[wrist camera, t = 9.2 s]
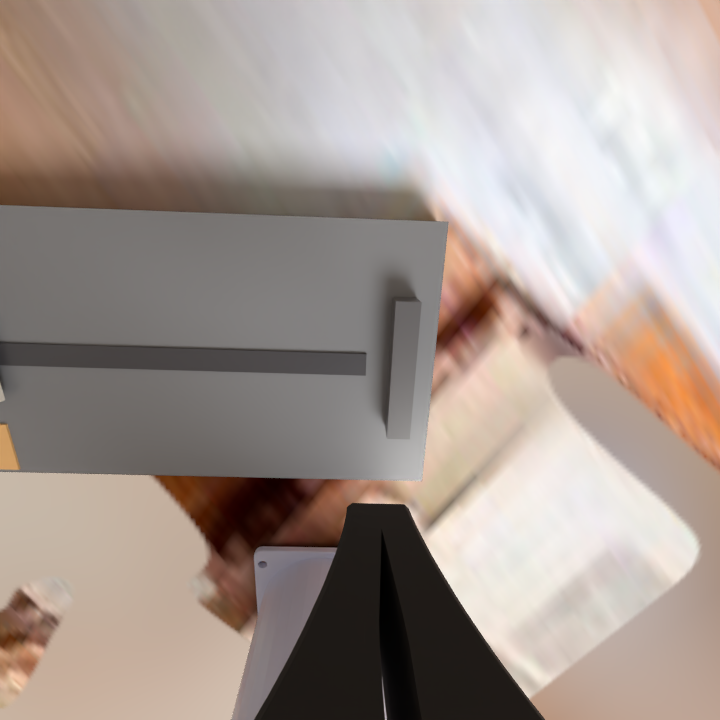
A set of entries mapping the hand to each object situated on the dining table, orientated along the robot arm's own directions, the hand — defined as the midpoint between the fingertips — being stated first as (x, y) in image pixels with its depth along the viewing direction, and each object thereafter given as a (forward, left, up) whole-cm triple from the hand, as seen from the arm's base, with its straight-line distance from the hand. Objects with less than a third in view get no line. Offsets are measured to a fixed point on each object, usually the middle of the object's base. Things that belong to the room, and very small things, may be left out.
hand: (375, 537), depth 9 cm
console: (+1, +11, -10) cm, 15 cm away
